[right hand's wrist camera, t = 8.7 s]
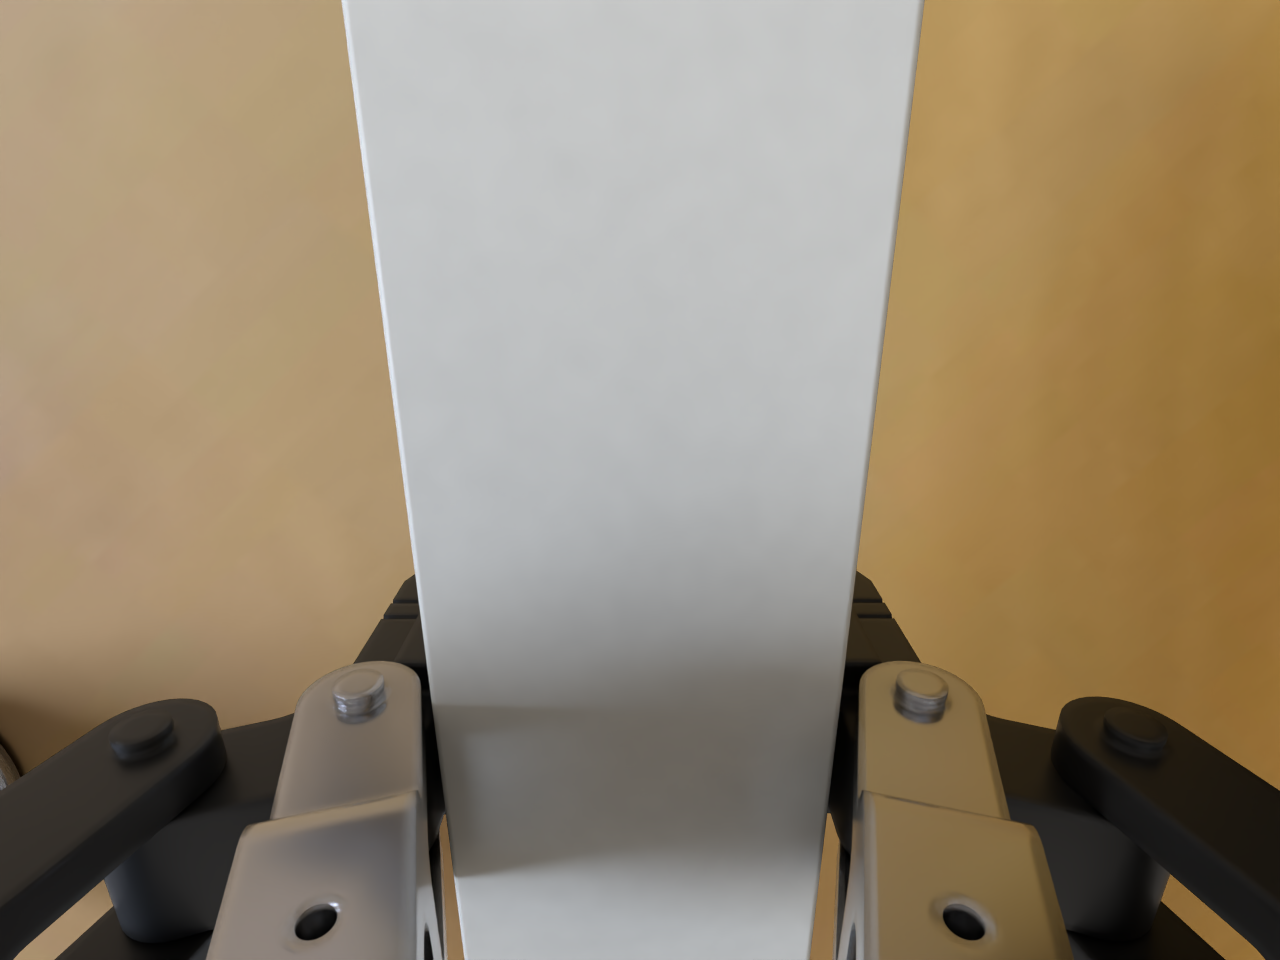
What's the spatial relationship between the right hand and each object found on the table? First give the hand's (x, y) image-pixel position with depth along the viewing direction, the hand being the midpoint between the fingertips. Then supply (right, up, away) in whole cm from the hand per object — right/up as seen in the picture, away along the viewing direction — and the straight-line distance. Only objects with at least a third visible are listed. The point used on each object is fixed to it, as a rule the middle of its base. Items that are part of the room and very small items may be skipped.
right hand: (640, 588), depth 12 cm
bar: (0, -18, +9) cm, 21 cm away
